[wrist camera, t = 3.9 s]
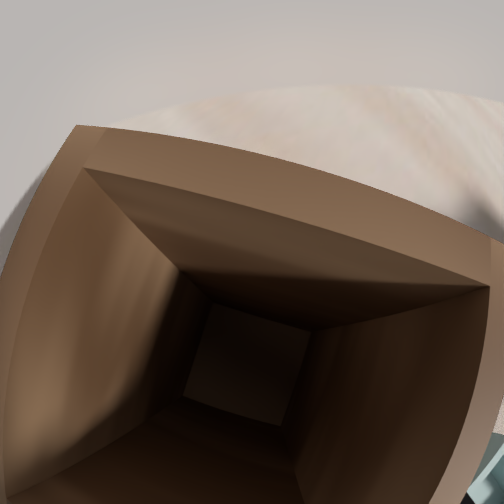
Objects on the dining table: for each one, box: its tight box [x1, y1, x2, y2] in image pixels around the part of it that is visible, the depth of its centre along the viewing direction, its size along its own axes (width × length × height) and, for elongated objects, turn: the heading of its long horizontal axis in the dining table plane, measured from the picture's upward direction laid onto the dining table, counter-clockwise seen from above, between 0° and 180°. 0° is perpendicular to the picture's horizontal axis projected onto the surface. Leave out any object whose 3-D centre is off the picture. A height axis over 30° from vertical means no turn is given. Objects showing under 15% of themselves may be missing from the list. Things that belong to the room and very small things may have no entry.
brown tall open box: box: [0, 125, 504, 504], centre depth 8 cm, size 6×6×12 cm
